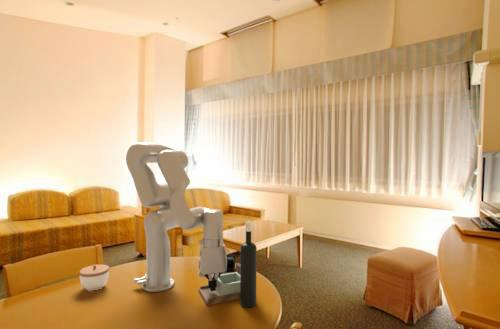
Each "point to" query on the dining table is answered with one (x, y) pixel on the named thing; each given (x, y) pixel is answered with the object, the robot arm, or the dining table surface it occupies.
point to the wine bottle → (248, 270)
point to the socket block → (228, 283)
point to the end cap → (230, 263)
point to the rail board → (214, 296)
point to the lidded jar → (94, 276)
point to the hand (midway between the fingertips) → (212, 289)
